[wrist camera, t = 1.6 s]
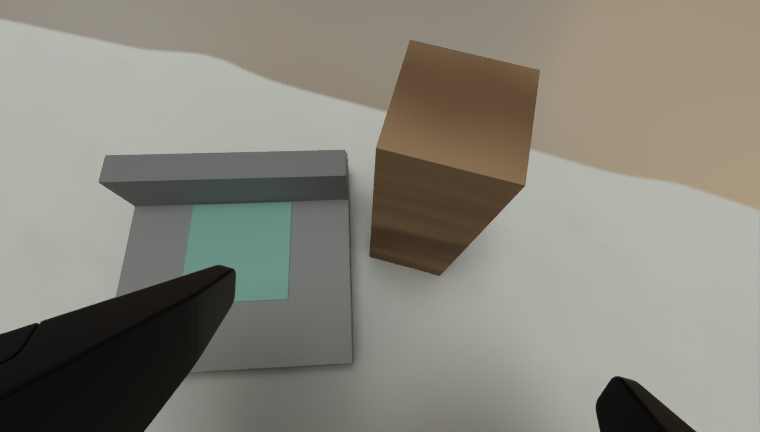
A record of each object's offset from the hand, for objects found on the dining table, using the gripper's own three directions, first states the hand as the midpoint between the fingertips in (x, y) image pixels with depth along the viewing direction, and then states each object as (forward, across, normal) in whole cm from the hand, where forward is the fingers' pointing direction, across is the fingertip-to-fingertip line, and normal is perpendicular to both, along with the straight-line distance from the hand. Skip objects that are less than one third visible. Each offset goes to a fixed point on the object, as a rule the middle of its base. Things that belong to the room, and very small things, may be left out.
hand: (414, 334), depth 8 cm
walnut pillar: (+14, 0, +4) cm, 15 cm away
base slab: (+11, +9, +7) cm, 16 cm away
